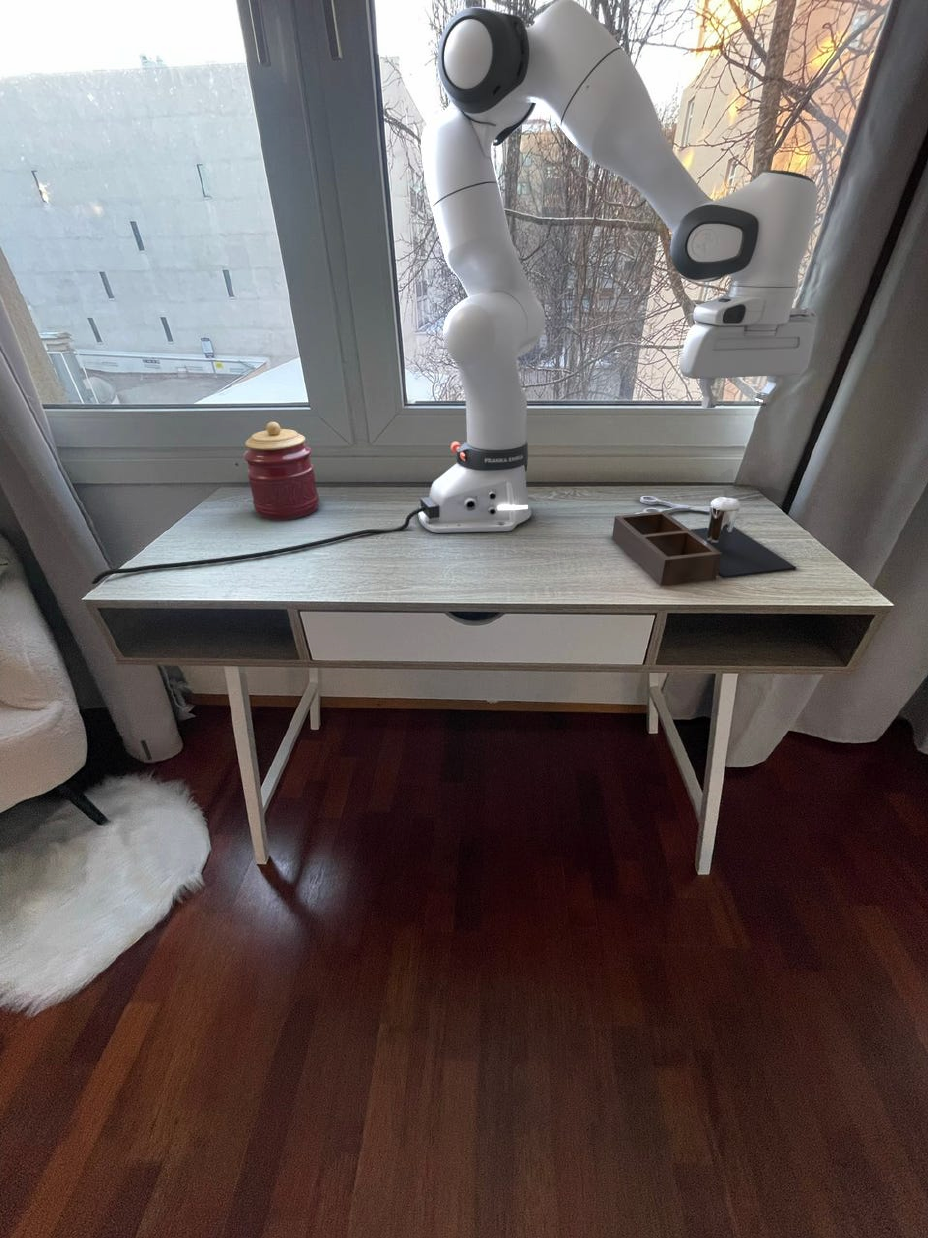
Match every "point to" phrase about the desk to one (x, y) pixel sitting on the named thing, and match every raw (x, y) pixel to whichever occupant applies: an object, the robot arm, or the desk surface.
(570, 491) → the desk surface
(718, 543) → the milkshake
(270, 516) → the kitchen canister
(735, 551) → the mouse pad
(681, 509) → the scissors
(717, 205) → the robot arm
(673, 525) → the caddy
